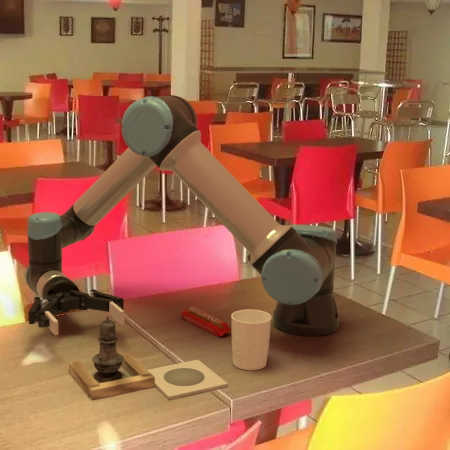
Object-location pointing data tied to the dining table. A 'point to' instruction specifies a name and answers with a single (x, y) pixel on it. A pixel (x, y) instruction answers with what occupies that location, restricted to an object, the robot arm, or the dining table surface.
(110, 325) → the salt shaker
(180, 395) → the cream square board
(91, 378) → the block
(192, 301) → the dining table surface
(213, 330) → the candy bar
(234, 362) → the white cup
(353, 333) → the dining table surface
